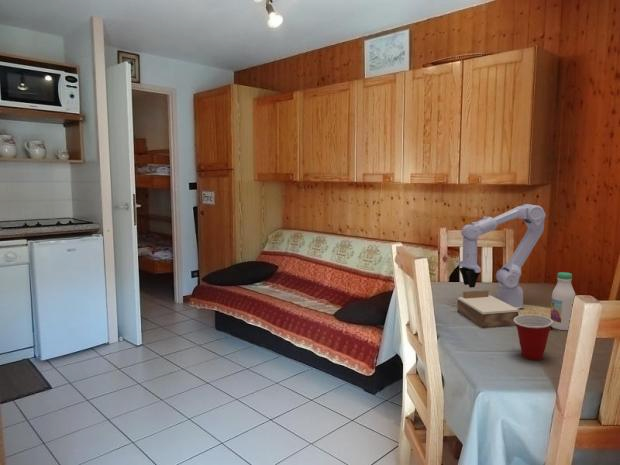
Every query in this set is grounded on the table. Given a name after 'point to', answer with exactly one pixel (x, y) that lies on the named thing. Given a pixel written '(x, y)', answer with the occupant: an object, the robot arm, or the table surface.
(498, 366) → the table surface
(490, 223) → the robot arm
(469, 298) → the lid
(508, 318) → the storage box
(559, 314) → the milk bottle
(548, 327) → the plastic cup
